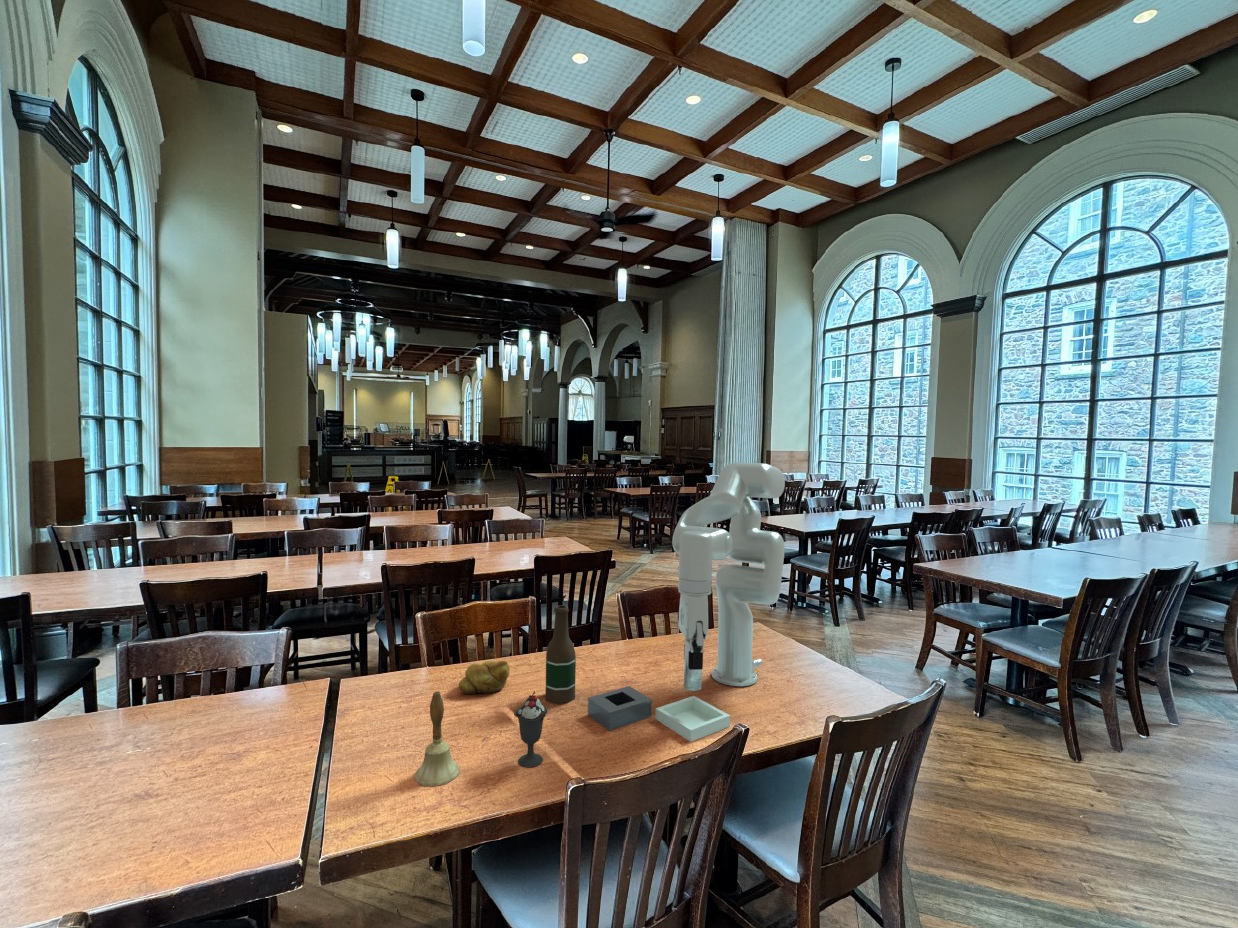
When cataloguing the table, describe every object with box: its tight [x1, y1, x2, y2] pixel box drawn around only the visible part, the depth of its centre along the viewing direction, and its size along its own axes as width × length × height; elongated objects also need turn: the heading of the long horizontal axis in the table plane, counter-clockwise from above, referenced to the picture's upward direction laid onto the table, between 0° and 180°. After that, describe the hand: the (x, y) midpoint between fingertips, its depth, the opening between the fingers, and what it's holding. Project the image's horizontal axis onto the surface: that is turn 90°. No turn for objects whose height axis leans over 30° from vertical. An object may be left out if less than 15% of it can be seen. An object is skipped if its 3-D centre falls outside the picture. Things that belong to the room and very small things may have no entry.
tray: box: [655, 695, 731, 743], centre depth 127 cm, size 12×12×4 cm
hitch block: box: [587, 685, 653, 732], centre depth 130 cm, size 12×9×5 cm
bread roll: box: [458, 660, 510, 695], centre depth 145 cm, size 13×10×8 cm
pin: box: [683, 635, 703, 692], centre depth 126 cm, size 4×4×12 cm
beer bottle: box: [545, 604, 577, 705], centre depth 139 cm, size 8×8×24 cm
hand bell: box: [414, 691, 461, 787], centre depth 107 cm, size 8×8×16 cm
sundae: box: [513, 690, 549, 768], centre depth 112 cm, size 7×7×15 cm
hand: (693, 664), depth 126 cm, fingers closed on pin, 4 cm apart
